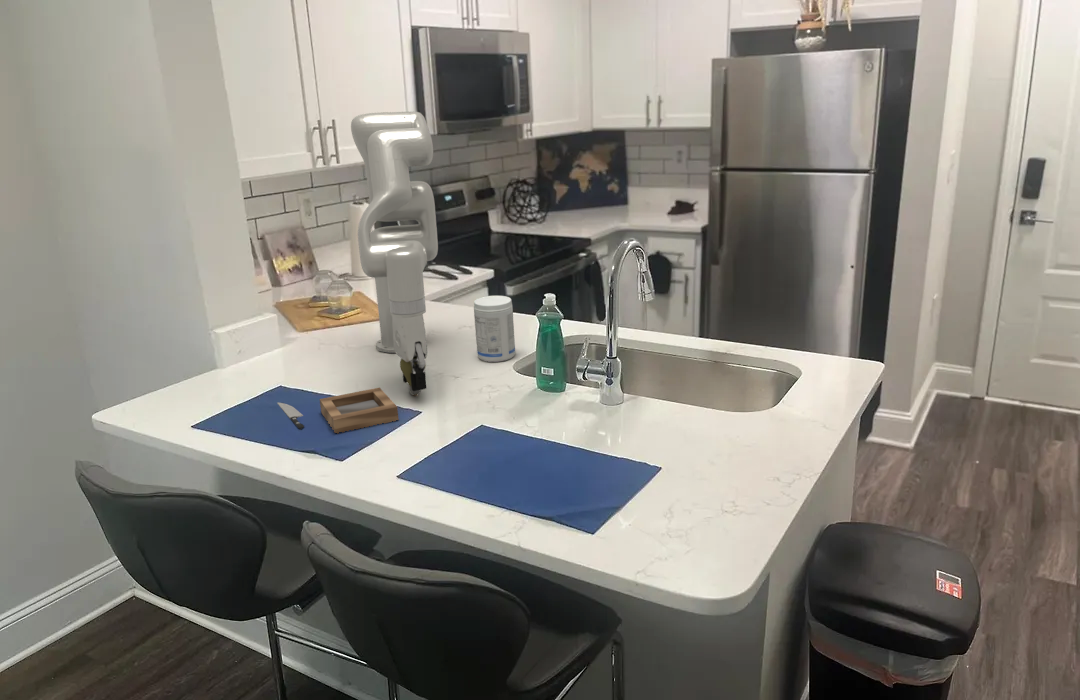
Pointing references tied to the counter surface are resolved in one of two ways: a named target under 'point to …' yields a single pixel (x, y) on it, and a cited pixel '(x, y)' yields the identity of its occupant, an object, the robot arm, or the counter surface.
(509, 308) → the supplement tub
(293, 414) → the chef's knife
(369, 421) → the cradle
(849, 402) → the counter surface
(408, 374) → the light bulb
